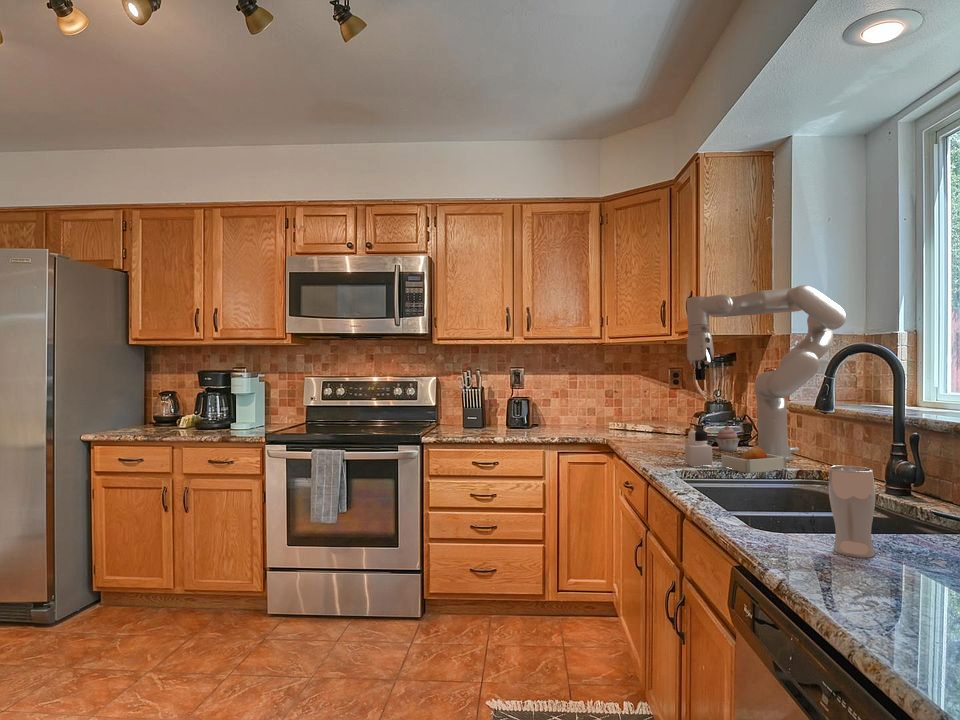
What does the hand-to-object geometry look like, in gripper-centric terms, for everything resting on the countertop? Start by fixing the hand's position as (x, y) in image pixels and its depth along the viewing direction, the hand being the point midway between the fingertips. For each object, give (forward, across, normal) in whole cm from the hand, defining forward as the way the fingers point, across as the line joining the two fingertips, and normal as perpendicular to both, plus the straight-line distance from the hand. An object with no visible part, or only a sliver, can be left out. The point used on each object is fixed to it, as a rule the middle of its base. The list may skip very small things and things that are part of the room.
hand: (700, 379), depth 206 cm
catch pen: (+29, -23, -2) cm, 37 cm away
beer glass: (+29, -98, +42) cm, 111 cm away
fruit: (+29, -24, -1) cm, 38 cm away
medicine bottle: (+29, -11, +10) cm, 33 cm away
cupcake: (+29, +14, -22) cm, 39 cm away
